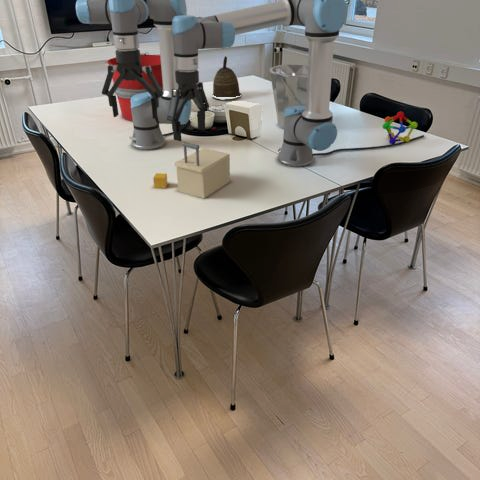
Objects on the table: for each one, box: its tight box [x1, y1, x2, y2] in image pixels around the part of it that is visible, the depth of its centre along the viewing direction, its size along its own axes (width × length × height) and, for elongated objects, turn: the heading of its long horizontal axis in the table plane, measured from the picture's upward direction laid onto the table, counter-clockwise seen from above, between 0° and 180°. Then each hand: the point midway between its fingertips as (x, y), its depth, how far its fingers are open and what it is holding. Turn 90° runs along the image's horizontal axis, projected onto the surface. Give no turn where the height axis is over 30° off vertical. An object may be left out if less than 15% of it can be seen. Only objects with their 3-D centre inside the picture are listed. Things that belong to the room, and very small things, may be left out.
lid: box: [174, 141, 231, 173], centre depth 161 cm, size 18×12×9 cm, turn 148°
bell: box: [212, 56, 242, 97], centre depth 278 cm, size 19×26×20 cm
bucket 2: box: [269, 63, 308, 129], centre depth 226 cm, size 30×30×28 cm
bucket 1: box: [103, 52, 163, 122], centre depth 240 cm, size 35×35×30 cm
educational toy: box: [382, 110, 418, 145], centre depth 207 cm, size 16×13×15 cm
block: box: [152, 172, 169, 189], centre depth 168 cm, size 4×4×4 cm
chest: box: [175, 156, 231, 199], centre depth 166 cm, size 17×12×10 cm
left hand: (135, 116), depth 150 cm, fingers open, 13 cm apart
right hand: (190, 135), depth 152 cm, fingers open, 13 cm apart
